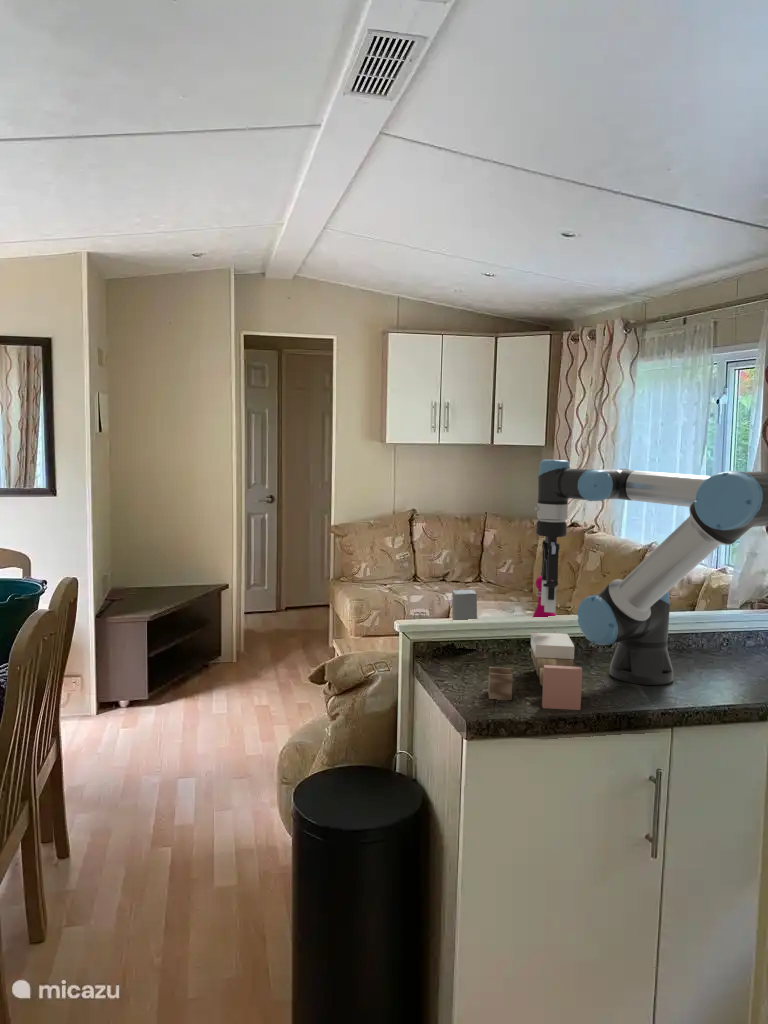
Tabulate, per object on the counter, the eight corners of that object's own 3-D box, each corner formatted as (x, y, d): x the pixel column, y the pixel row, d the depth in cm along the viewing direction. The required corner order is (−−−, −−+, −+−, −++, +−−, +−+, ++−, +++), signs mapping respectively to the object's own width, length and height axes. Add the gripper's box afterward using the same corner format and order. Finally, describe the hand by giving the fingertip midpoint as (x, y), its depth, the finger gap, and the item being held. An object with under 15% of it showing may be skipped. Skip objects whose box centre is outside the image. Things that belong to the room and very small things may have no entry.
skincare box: (478, 650, 224) (480, 594, 223) (452, 649, 224) (454, 593, 223) (474, 643, 233) (476, 588, 231) (450, 642, 233) (451, 587, 231)
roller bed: (562, 669, 207) (563, 642, 207) (579, 707, 177) (580, 675, 177) (530, 667, 208) (531, 641, 207) (542, 705, 178) (543, 674, 178)
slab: (566, 645, 204) (567, 633, 203) (574, 659, 191) (574, 646, 190) (530, 643, 204) (531, 632, 204) (535, 657, 192) (535, 644, 191)
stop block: (579, 707, 177) (580, 666, 177) (580, 710, 175) (582, 669, 175) (542, 705, 178) (543, 665, 177) (542, 708, 176) (544, 667, 175)
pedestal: (510, 692, 187) (510, 667, 186) (511, 700, 181) (512, 675, 180) (488, 691, 187) (489, 666, 187) (489, 699, 181) (490, 674, 181)
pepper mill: (550, 639, 239) (553, 572, 237) (527, 636, 243) (530, 569, 241) (559, 635, 245) (562, 569, 243) (536, 631, 249) (539, 567, 247)
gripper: (533, 516, 217) (529, 600, 219) (540, 523, 196) (537, 616, 198) (561, 517, 216) (558, 601, 218) (572, 524, 196) (568, 617, 198)
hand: (548, 608), depth 208 cm, fingers open, 8 cm apart
